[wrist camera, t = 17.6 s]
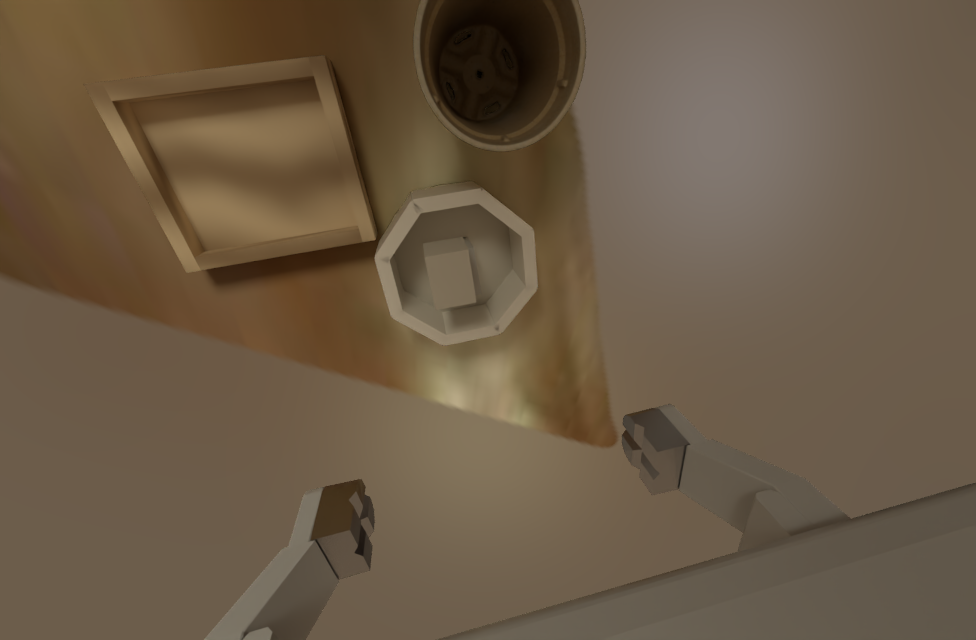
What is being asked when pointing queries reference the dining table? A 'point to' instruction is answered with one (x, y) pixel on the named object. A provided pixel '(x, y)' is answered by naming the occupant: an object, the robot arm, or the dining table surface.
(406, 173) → the dining table surface
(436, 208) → the bowl
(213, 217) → the tray
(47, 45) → the dining table surface
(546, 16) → the flower pot
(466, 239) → the tall grey rectangular block
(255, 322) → the dining table surface
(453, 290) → the block
